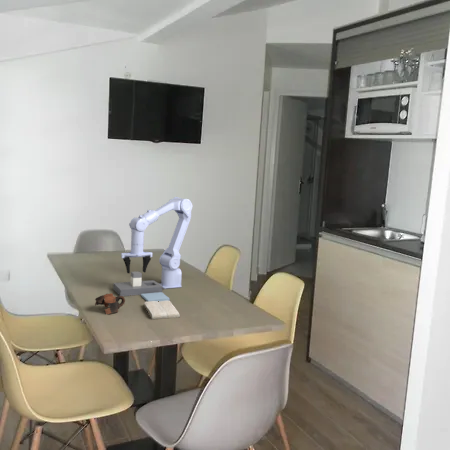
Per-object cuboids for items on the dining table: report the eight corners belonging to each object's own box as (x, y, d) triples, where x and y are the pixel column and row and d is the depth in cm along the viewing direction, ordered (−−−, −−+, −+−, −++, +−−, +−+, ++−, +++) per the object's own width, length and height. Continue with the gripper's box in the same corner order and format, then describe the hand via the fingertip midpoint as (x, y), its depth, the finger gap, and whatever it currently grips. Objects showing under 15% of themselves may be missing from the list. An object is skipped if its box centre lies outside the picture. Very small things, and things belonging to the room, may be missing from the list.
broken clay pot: (99, 317, 195) (93, 297, 197) (98, 320, 204) (92, 301, 206) (128, 307, 199) (122, 288, 201) (126, 310, 208) (121, 292, 210)
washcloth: (169, 305, 215) (169, 298, 215) (180, 319, 199) (181, 311, 198) (142, 306, 211) (142, 299, 211) (151, 321, 195) (152, 313, 194)
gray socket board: (153, 286, 242) (153, 280, 241) (162, 292, 231) (162, 286, 231) (113, 289, 232) (113, 282, 232) (120, 296, 222) (120, 289, 222)
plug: (138, 289, 234) (139, 271, 233) (141, 292, 231) (141, 273, 229) (130, 290, 232) (130, 271, 231) (132, 292, 229) (133, 273, 227)
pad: (161, 294, 229) (161, 292, 229) (169, 300, 220) (169, 298, 220) (141, 296, 224) (141, 293, 224) (148, 302, 216) (148, 300, 216)
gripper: (124, 245, 221) (123, 275, 223) (155, 244, 228) (153, 273, 230) (120, 242, 227) (119, 271, 229) (150, 242, 234) (148, 270, 236)
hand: (136, 272), depth 230 cm, fingers open, 7 cm apart
